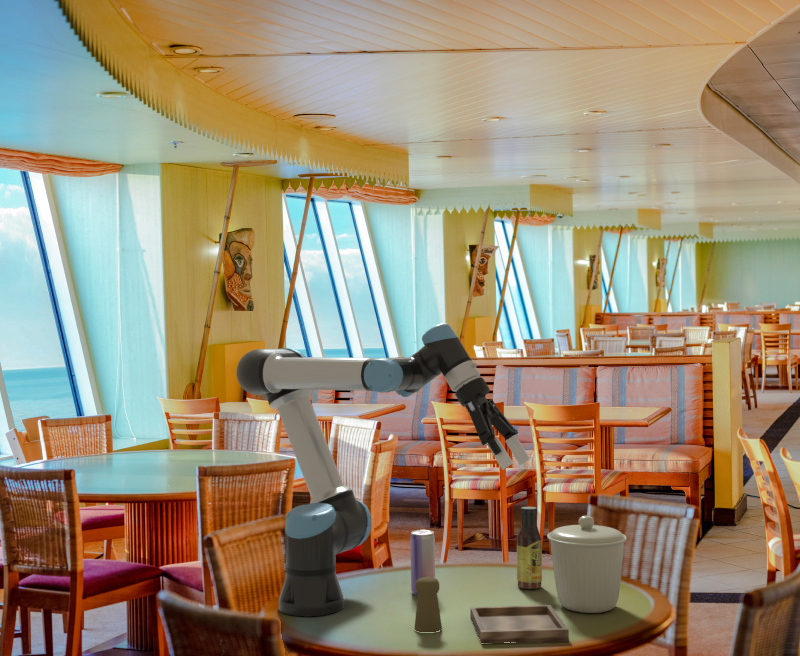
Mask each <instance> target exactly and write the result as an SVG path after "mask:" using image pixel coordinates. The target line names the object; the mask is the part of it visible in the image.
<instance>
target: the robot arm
mask: <svg viewBox="0 0 800 656" xmlns="http://www.w3.org/2000/svg"><path fill="white" fill-rule="evenodd" d="M421 341H422V344H423V347H421V348H420V349H419V350H418V351H416V352H415V353H414V354H411V356H409V357H372V358H371V357H307V356H306V355H305V354H304V353H303V352H301V351H299V350H296V349H292V348H289V347H281V348H258V349H253V350H249V351H247V352H246V353H245V354H244V355H243V356H242V357H241V358H240V359H239V361H238V363H237V366H236V371H235V372H236V375H235V376H236V380H237V382H238V384H239V386H240V387H241V389H243V390H244V391H245V392H247V393H248V394H252V395H254V396H265V398H266V400H267V403H268V405H269V407H270V408H271V409H274V410H276V411H277V412H278V414H279V416H280V420H281V423H282V424H283V427H284V430H285V432H286V435H287V437H288V440H289V443H290V445H291V448H292V451H293V454H294V455H295V458H296V460H297V463H298V466H299V469H300V471H301V474H302V477H303V479H304V482H305V485H306V487H307V489H308V492H309V495H310V497H311V500H310V502H309V503H307V504H301V505H297V506H295V507H293V508H292V509H290V510H289V511H288V512H287V513H286V515H285V525H284V532H285V568H286V569H285V578H284V581H283V585H282V587H281V588H282V589H281V592H280V595H279V599H278V610H279V612H280V613H283V614H285V615H289V616H294V617H317V616H318V617H319V616H325V615H331V614H334V613H337V612H339V611H341V610H342V609H344V606H345V605H344V604H345V603H344V602H345V601H344V600H345V599H344V594H343V591H342V588H341V585H340V582H339V579H338V575H337V572H336V571H337V570H336V568H337V567H336V565H337V564H336V563H337V562H336V561H337V559H336V557H337V556H336V555H338V554H339V555H340V554H341V553H344V552H347V551H351V550H353V549H356V548H357V547H358V546H360V545H362V544H363V543H364V542H366V540H367V539H368V538H369V536H370V533H371V530H372V527H373V525H372V524H373V521H372V520H373V519H372V514H371V512H370V509H369V508H368V506H367V505H366V504H365V503H364V502H362V501H361V500H358V499H356V497H355V493H354V491H353V489H352V488H350V487H349V486H346V485H345V484H344V483H343V480H342V478H341V475H340V472H339V470H338V468H337V465H336V463H335V460H334V457H333V455H332V452H331V450H330V447H329V445H328V443H327V439H326V437H325V435H324V432H323V430H322V427H321V425H320V422H319V419H318V417H317V414H316V412H315V409H314V406H313V403H312V401H311V399H310V398H311V395H312V392H313V391H314V390H319V391H321V390H322V391H324V390H325V391H358V392H359V391H360V392H361V391H363V392H377V393H391V392H395V393H396V394H397V395H399V396H401V397H403V398H408V397H410V396H412V395H414V394H415V393H418V392H419V391H420V390H421V389H422V388H424V387H425V386H426V385H428V384H429V383H430V382H431V381H433V380H434V379H435V378H437V377H438V376H440V375H441V374H442V376H443V377H444V379H445V381H446V382H447V384H448V385H449V387H450V389H451V391H452V392H455V394H454V396H455V397H456V398H457V401H458V402H459V404H460V405H461V406H462V407H465V409H466V410H467V412H468V415H469V416H470V418H471V421H472V423H473V426H474V429H475V431H476V433H477V436H478V438H479V441H480V443H481V445H482V446H485V445H487V447H488V448H489V451H490V452H491V454H492V455H493V458H495V461H496V462H497V464H498V465H499V467H500V468H501V470H502V471H503V470H505V469H507V468H508V467H510V466H511V465H513V464H514V462H513V460H512V458H511V457H510V455H509V453H508V451H507V450H506V448H505V447H504V446H503V444H502V442H501V441H500V439H499V437H496V434H495V431H494V429H495V430H496V431H497V432H498V433H499V434H500V435H501V436H502V437H503V438H504V439H505V440H504V441H505V443H506V445H507V447H508V448H509V450H510V451H511V453H512V455H513V456H514V458H515V460H516V462H517V463H518V464H519V466H522V465H523V464H525V463H527V462H528V461H530V460H531V458H530V456H529V454H528V453H527V451H526V450H525V448H524V446H523V445H522V443H521V441H520V440H519V439H518V437H517V435H518V434H519V432H518V430H517V429H515V427H514V426H513V425H512V424H511V422H510V421H509V420H508V419H507V417H506V416H505V415H504V414H503V412H502V411H501V410H500V409H499V407H498V406H497V404H496V403H495V401H494V400H493V399H489V400H488V399H487V398H486V396H487V395H488V394H489V393H490V387H489V385H488V384H487V382H486V380H485V379H484V377H481V373H480V371H479V369H478V368H477V367H478V364H477V363H476V362H473V360H472V358H471V356H470V355H469V353H468V352H467V350H466V349H465V347H464V345H463V343H462V342H461V340H460V338H459V336H458V335H457V334H456V332H455V331H454V329H453V328H452V327H451V326H450V324H448V323H445V322H444V323H438V324H437V325H434V326H433V327H431V328H429V329H428V330H427V331H425V332H424V334H423V335H422V337H421Z"/></svg>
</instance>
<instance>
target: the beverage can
mask: <svg viewBox="0 0 800 656" xmlns="http://www.w3.org/2000/svg"><path fill="white" fill-rule="evenodd" d="M410 533H411V534H410V583H411V585H410V590H411V593H412V594H413V595H414V594H415V595H414V596H417V595H418V593H417V591H416V586H415V585H416V581H417V580H418V579H419V578H422V577H433V578H436V545H435V544H436V541H435V538H436V537H435V532H434V531H433V530H428V529H420V530H419V529H417V530H412V531H411V532H410Z"/></svg>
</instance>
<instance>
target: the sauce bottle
mask: <svg viewBox="0 0 800 656" xmlns="http://www.w3.org/2000/svg"><path fill="white" fill-rule="evenodd" d="M537 514H538V508H537V507H535V506H521V507H520V515H521V527H520V529H519V530H518V532H517V535H516V542H517V543H516V580H517V586H518V588H519V589H524V590H537V589H540V588H541V587H542V581H543V560H542V559H543V555H542V554H543V551H542V549H543V545H542V544H543V541H542V539H543V538H542V537H541V534H540V531H539V528H538V524H537Z"/></svg>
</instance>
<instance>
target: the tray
mask: <svg viewBox="0 0 800 656" xmlns="http://www.w3.org/2000/svg"><path fill="white" fill-rule="evenodd" d="M469 612H470V620H472V621H471V623H472V622H473V623H472V625H474V626H473V628H474V627H475V628H474V630H475V632H477V633H476V635H477V634H478V635H477V637H479V638H478V639H480V640H479V642H480V641H481V643H504V642H510V643H511V642H516V643H515V644H530V643H529V642H546V643H569V641H570V640H569V639H570V638H569V637H570V635H569V634H570V633H569V632H570V631H569V628H568V627H567V625H566V624H565V623H564V621H563V620H562V618H561V617H560V616H559V615H558V613H557V612H556V611H555V609H554V608H553V606H552V605H551V604H541V605H540V604H535V605H534V604H533V605H505V606H504V605H503V606H501V605H500V606H499V605H498V606H493V605H492V606H470V611H469ZM517 642H518V643H517ZM481 643H480V644H481Z"/></svg>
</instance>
